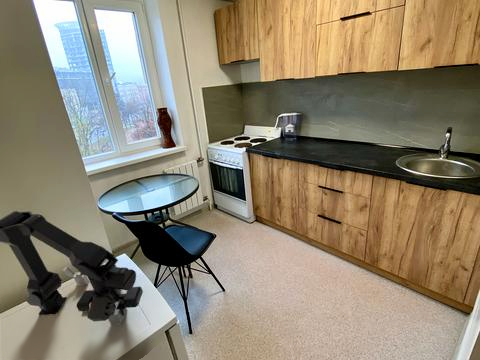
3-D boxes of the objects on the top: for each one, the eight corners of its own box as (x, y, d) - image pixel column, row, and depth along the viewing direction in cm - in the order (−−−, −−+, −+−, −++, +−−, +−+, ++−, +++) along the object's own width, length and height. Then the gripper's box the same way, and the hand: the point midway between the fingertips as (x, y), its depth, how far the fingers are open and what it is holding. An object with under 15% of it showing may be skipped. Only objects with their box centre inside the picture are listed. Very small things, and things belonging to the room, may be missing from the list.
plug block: (111, 325, 82) (106, 315, 80) (117, 310, 87) (113, 301, 85) (121, 324, 82) (117, 314, 80) (127, 309, 87) (123, 300, 85)
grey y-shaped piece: (89, 281, 99) (82, 266, 95) (86, 284, 98) (79, 270, 94) (73, 280, 100) (65, 266, 96) (70, 284, 98) (61, 269, 95)
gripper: (56, 309, 70) (77, 341, 77) (123, 304, 69) (138, 337, 77) (78, 276, 79) (94, 308, 87) (136, 272, 79) (148, 304, 87)
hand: (118, 314), depth 84 cm, fingers open, 4 cm apart
